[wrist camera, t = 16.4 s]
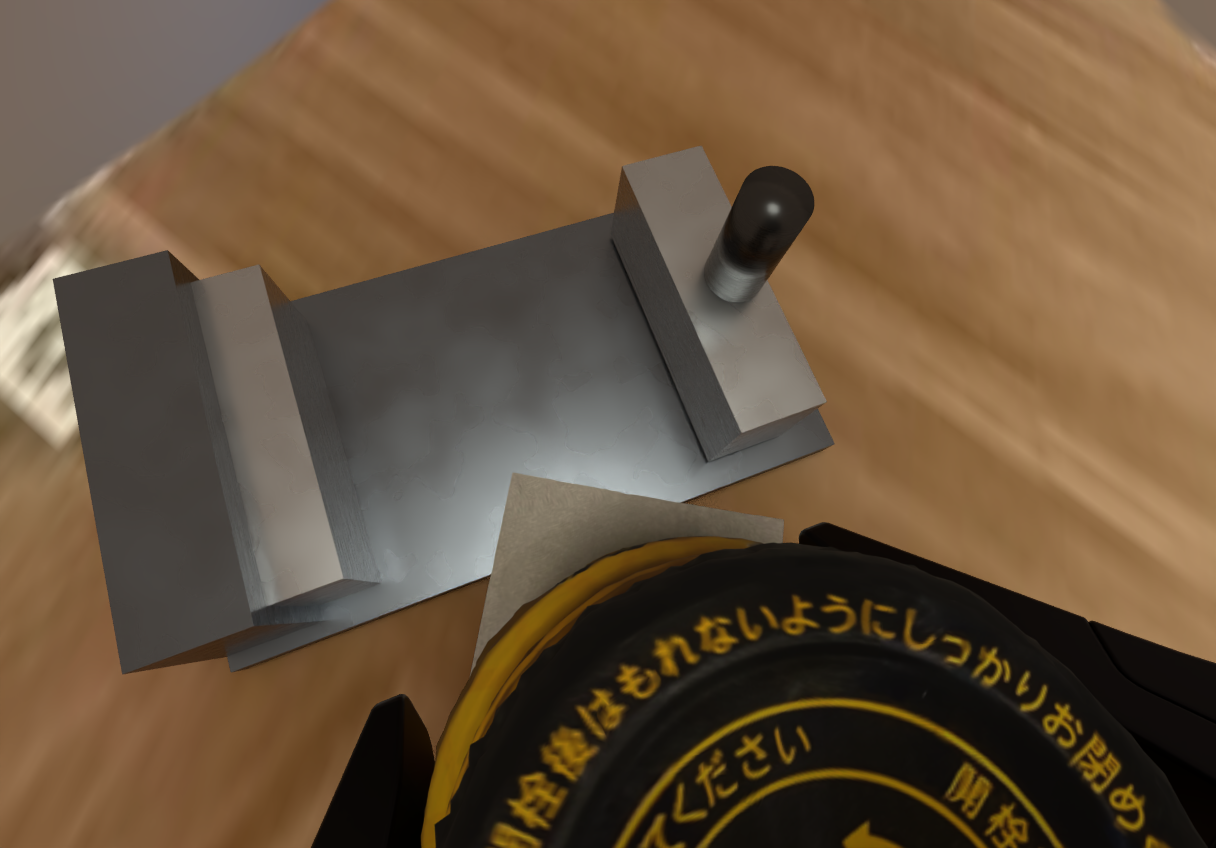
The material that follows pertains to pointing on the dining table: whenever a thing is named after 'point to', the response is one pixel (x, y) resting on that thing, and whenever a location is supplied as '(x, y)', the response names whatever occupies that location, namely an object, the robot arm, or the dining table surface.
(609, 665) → the condiment
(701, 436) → the sliding jaw
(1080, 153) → the dining table surface
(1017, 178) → the dining table surface
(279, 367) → the vise
